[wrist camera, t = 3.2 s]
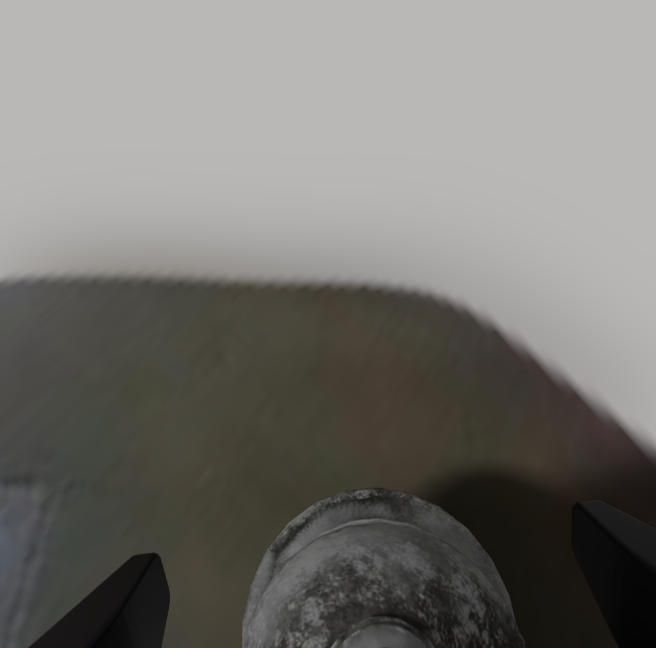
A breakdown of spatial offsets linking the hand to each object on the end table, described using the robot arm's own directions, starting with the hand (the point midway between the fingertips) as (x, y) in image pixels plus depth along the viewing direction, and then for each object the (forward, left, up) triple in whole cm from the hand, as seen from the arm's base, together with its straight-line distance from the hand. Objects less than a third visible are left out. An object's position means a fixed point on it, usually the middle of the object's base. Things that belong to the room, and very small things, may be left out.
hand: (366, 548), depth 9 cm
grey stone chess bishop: (-1, 0, -7) cm, 7 cm away
